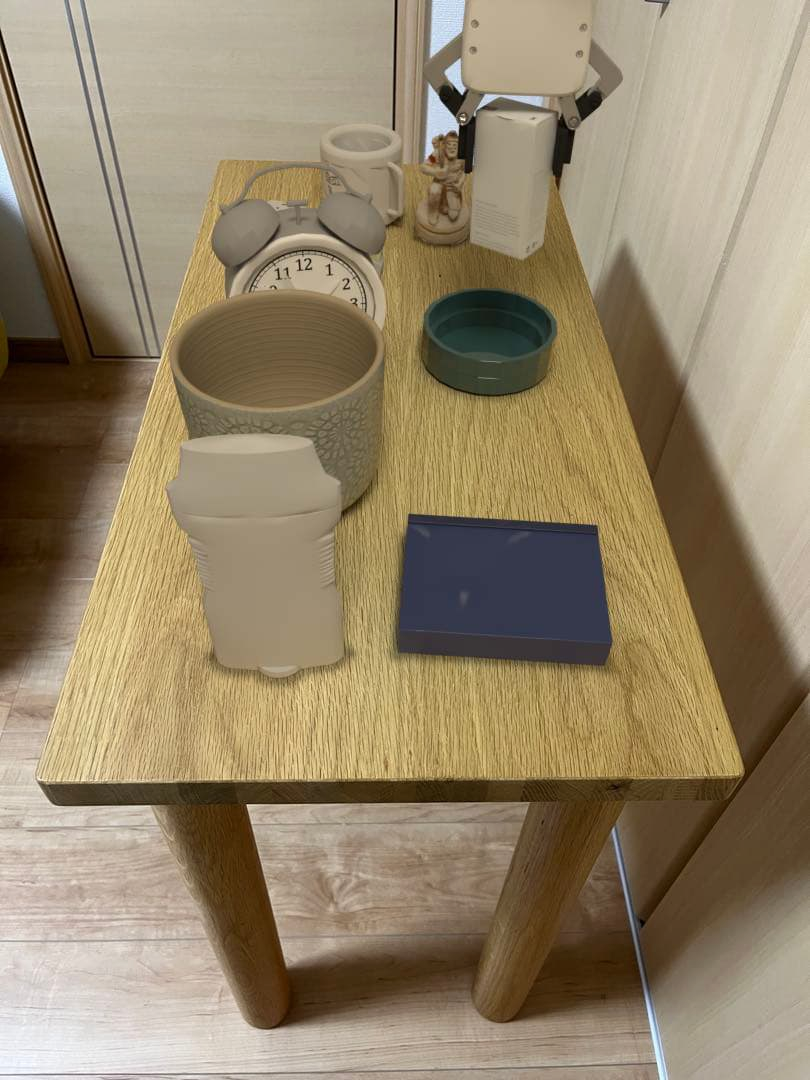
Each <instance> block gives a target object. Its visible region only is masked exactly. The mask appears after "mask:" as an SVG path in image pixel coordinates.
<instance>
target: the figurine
mask: <svg viewBox="0 0 810 1080" xmlns="http://www.w3.org/2000/svg"><path fill="white" fill-rule="evenodd" d="M458 134H459V133H458V132H457V131H456V130H453V129H451V130H450V131H448V132H446V134H445V135H444V134H443V133H439V134H438V135H435V136H434V137H432V138H431V145H432V148H433V151H432V152H431V153H430V155H428V156H427V158H426V159H425V160H424V161H423V162H422V163H421V164H420V167H419V168H420V169H419V170H420V172H421V173H422V174H423V175H425V176H430V177H433V179H432V181H431V183H430V184H429V185H428V187H427V191H426V192H427V196H426V197H423V198H422V199H421V200H420V201H419V203H418V205H417V206H416V212H415V223H414V227H415V229H414V230H415V231H416V233H417V236H418V237H419V238H420V240H421V241H423V242H425V243H427V244H431V245H432V244H433V245H435V246H437V245H438V246H439V245H440V246H454V245H457V244H459V243H462V242H463V241H464V240H466V239H467V238H468V235H469V234H468V233H469V224H470V210H469V207H468V205H467V203H465V201H463V192H462V190H463V187H464V184H465V182H466V179H467V176H468V174H464V168H465V160H460V159H457V152H458Z"/></svg>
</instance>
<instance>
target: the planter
mask: <svg viewBox="0 0 810 1080" xmlns="http://www.w3.org/2000/svg"><path fill="white" fill-rule="evenodd" d="M385 347H386V345H385V338H384V336H383V332H381V330H380V328H379V327H378V325H377V324H376V322H375V321H374V320H373V319H372V318H371V317H370V316H369V315H368V314H367V313H366V312H365V311H363V310H362V309H360V308H359V307H357V306H355V305H354V304H352V303H350V302H348V301H345V300H343V299H340V298H338V297H335V296H331V295H328V294H324V293H319V292H314V291H308V290H298V289H272V290H261V291H255V292H249V293H244V294H240V295H236V296H233V297H230V298H227V299H226V298H224V299H221V300H218V301H217V302H214V303H212V304H210V305H208V306H206V307H204V308H202V309H201V310H199V311H198V312H196V313H194V314H193V315H192V316H191V317H190V318H188V320H186V321H185V322H184V323H183V324H182V325H181V326H180V327H179V329H178V330H177V332H176V333H175V335H174V336H173V339H172V341H171V343H170V347H169V354H168V356H169V357H168V358H169V364H170V369H171V373H172V378H173V382H174V386H175V387H174V388H175V390H176V395H177V398H178V402H179V406H180V409H181V414H182V416H183V419H184V423H185V426H186V430H187V434H188V438H189V440H192V439H196V438H202V437H208V436H218V435H231V434H280V435H291V436H299V437H304V438H307V439H310V440H311V441H312V442H313V443H314V447H315V450H316V453H317V456H318V458H319V460H320V463H321V465H322V467H323V469H324V471H325V472H327V473H329V474H331V475H332V476H334V477H336V478H337V479H338V480H339V481H340V482H341V501H342V511H341V513H342V512H344V511H345V510H346V509H347V508H348V507H350V506H352V505H353V504H354V503H355V502H356V501H357V500H358V499H359V498H360V497H361V496H362V495H363V494H364V493H365V491H366V490H367V489H368V487H369V486H370V484H371V482H372V480H373V478H374V476H375V474H376V471H377V468H378V464H379V459H380V453H381V448H382V447H381V446H382V435H383V434H382V432H383V431H382V429H383V408H384V407H383V406H384V391H385V390H384V389H385V368H386V367H385V365H386V364H385V363H386V362H385V361H386V360H385V359H386V357H385V356H386V354H385V353H386V351H385Z"/></svg>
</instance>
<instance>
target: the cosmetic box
mask: <svg viewBox="0 0 810 1080" xmlns="http://www.w3.org/2000/svg"><path fill="white" fill-rule="evenodd" d="M475 116H476V117H475V123H476V128H475V143H474V157H473V171H472V185H471V205H470V206H471V207H470V227H469V243H470V244H473V245H475V246H478V247H482V248H484V249H486V250H491V251H492V252H496V253H499V254H502V255H505V256H508V257H511V258H514V259H517V260H520V261H524V260H526V259H527V258H529V257H530V256H532V255H533V254H534V253H535V252H537V251H538V250H539V249H541V248H542V247H543V245H544V242H545V232H546V224H547V217H548V209H549V200H550V191H551V184H552V176H553V173H552V166H553V159H554V150H555V142H556V133H557V126H558V120H559V119H560V112H559V111H558V110H555V109H551V108H547V107H543V106H540V105H536V104H531V103H527V102H523V101H519V100H516V99H512V98H507V97H504V96H498V97H496V98H494V99H493V100H491V101H489V102H488V103H485V104H484V105H482V106H481V107H478V108H477V109H476V111H475Z"/></svg>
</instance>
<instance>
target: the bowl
mask: <svg viewBox="0 0 810 1080" xmlns="http://www.w3.org/2000/svg"><path fill="white" fill-rule="evenodd" d="M558 333H559V332H558V323H557V320H556V318H555V316H554V315H553V313H552V311H550V309H549V308H548V307H546V306H545V305H543V304H542V303H541V302H540V301H538V300H537V299H535V298H533V297H530V296H529V295H525V294H523V293H521V292H517V291H514V290H509V289H504V288H499V287H471V288H463V289H458V290H455V291H452V292H449V293H446V294H444V295H442V296H440V297H439V298H437V299H436V300H434V301H433V302H431V303H430V304H429V306H428V307H427V309H425V311H424V313H423V322H422V339H421V341H422V343H421V359H422V361H423V363H424V365H425V367H426V369H427V370H428V372H430V373H431V374H432V375H433V376H434V377H435V378H436V379H437V380H439V382H441V383H444V384H446V385H448V386H450V387H451V388H454V389H457V390H461V391H465V392H469V393H472V394H476V395H494V396H497V395H505V394H511V393H512V394H513V393H518V392H521V391H524V390H527V389H528V388H531V387H534V386H536V385H537V384H538V383H540V381H542V380H543V379H544V378H545V377H547V375H548V374H549V372H550V369H551V367H552V364H553V359H554V354H555V349H556V343H557V338H558Z"/></svg>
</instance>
